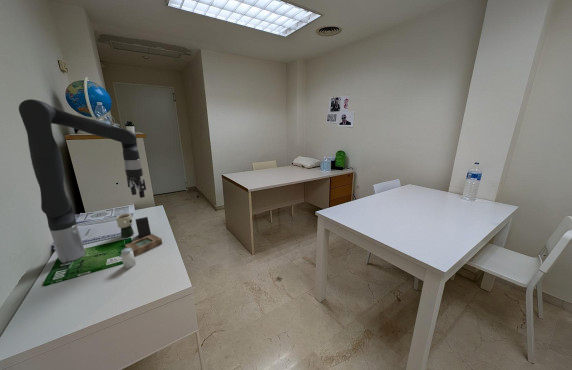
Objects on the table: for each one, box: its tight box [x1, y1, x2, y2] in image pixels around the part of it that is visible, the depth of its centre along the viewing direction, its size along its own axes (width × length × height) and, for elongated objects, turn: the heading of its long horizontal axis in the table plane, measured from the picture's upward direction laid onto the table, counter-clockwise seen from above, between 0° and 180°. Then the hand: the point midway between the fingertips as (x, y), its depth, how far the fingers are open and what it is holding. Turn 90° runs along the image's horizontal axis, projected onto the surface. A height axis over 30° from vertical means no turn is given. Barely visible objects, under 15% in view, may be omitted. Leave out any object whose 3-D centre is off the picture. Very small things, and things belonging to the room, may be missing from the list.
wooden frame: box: [124, 233, 163, 257], centre depth 116 cm, size 14×10×3 cm
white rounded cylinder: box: [120, 248, 137, 269], centre depth 100 cm, size 5×5×8 cm
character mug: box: [115, 213, 135, 238], centre depth 127 cm, size 11×7×13 cm, turn 38°
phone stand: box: [135, 216, 152, 239], centre depth 126 cm, size 9×6×12 cm, turn 37°
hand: (138, 196), depth 118 cm, fingers open, 8 cm apart
